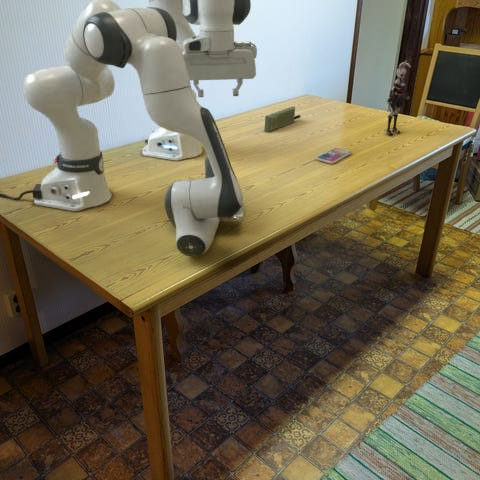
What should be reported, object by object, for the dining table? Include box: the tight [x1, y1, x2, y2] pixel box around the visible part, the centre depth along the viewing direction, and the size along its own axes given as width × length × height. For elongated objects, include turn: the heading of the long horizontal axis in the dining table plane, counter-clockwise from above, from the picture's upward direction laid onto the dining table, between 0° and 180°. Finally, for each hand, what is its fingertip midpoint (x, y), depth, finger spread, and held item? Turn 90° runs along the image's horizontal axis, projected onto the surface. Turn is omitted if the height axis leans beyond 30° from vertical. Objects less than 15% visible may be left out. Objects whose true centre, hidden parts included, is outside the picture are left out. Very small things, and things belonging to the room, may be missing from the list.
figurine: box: [385, 60, 412, 137], centre depth 207 cm, size 15×6×30 cm, turn 132°
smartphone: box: [315, 147, 352, 165], centre depth 188 cm, size 7×1×15 cm
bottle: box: [204, 155, 215, 178], centre depth 146 cm, size 5×5×19 cm
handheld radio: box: [264, 105, 301, 133], centre depth 221 cm, size 7×3×25 cm
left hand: (212, 195), depth 145 cm, fingers open, 8 cm apart
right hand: (218, 96), depth 137 cm, fingers open, 8 cm apart
